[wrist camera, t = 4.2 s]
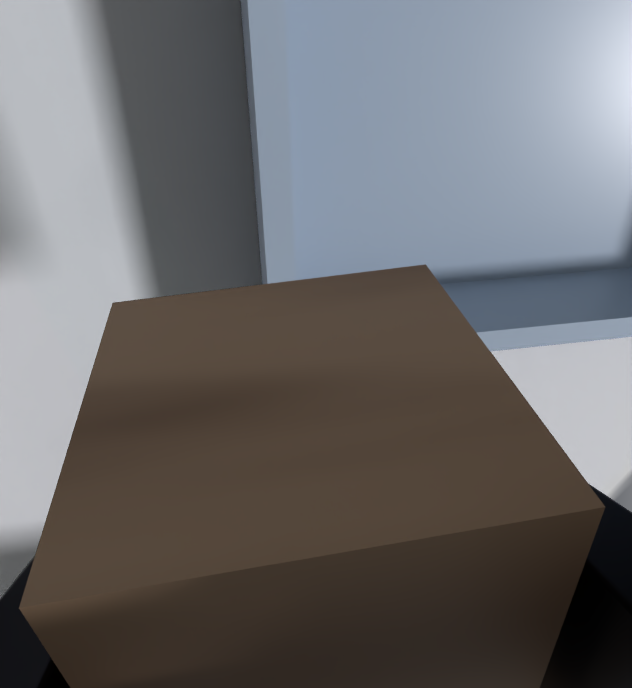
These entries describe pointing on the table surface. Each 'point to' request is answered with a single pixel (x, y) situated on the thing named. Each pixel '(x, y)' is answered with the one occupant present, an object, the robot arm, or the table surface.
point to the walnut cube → (307, 499)
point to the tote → (451, 153)
